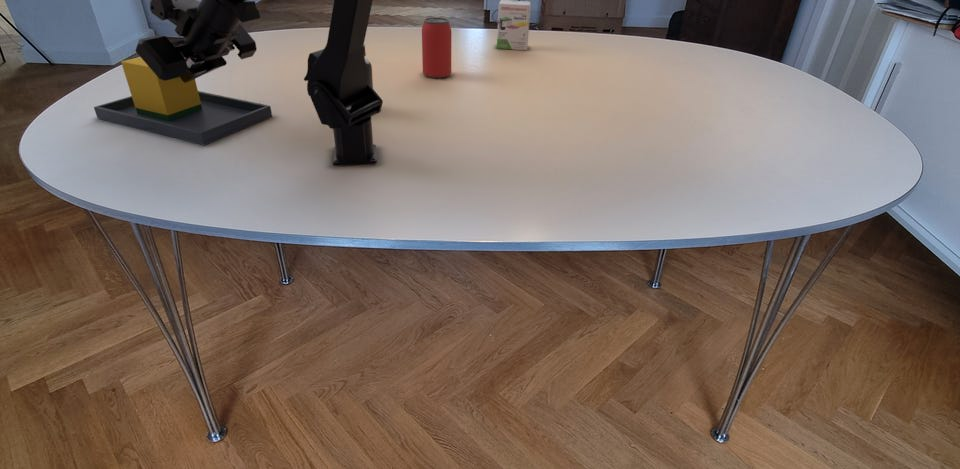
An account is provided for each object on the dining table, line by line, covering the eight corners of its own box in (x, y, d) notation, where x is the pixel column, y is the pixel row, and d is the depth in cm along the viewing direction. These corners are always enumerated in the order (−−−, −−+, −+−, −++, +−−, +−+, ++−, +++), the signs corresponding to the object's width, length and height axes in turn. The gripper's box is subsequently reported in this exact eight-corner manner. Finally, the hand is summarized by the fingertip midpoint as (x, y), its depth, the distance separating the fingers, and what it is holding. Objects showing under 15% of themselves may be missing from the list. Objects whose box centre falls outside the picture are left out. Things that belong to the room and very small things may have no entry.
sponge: (202, 109, 98) (190, 58, 94) (169, 121, 93) (154, 67, 88) (171, 102, 101) (157, 52, 96) (136, 113, 96) (120, 61, 91)
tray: (272, 117, 98) (270, 105, 97) (204, 145, 86) (201, 132, 85) (172, 95, 106) (169, 84, 105) (97, 118, 94) (93, 107, 93)
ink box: (496, 48, 149) (498, 2, 143) (497, 44, 153) (499, -1, 147) (527, 50, 148) (530, 4, 142) (527, 46, 152) (531, 1, 146)
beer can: (436, 69, 129) (435, 15, 122) (457, 75, 125) (457, 20, 119) (416, 74, 124) (415, 19, 118) (437, 80, 121) (437, 23, 114)
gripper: (229, -32, 89) (196, 31, 98) (123, -21, 74) (96, 52, 84) (275, 24, 90) (238, 81, 100) (179, 45, 75) (147, 110, 85)
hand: (184, 80), depth 92 cm, fingers closed
